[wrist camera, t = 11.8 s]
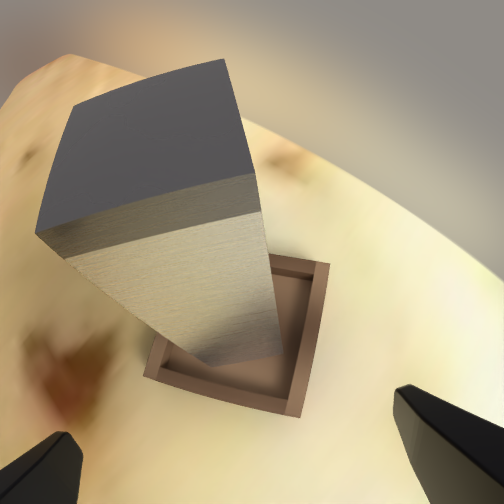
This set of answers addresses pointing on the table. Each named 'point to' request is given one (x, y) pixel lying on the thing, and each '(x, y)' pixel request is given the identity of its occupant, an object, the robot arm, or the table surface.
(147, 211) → the brushed steel post
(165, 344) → the tray
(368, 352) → the table surface
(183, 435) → the table surface
